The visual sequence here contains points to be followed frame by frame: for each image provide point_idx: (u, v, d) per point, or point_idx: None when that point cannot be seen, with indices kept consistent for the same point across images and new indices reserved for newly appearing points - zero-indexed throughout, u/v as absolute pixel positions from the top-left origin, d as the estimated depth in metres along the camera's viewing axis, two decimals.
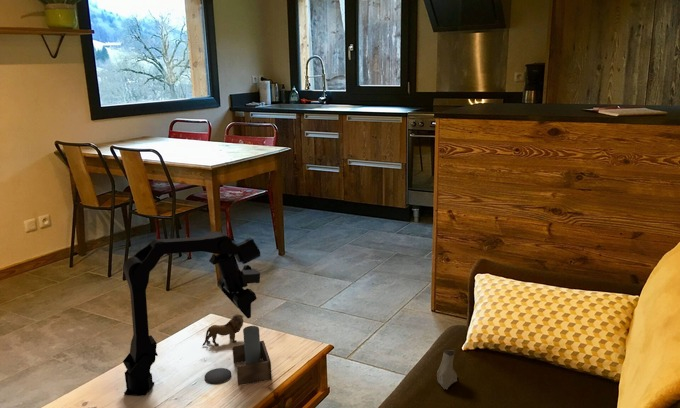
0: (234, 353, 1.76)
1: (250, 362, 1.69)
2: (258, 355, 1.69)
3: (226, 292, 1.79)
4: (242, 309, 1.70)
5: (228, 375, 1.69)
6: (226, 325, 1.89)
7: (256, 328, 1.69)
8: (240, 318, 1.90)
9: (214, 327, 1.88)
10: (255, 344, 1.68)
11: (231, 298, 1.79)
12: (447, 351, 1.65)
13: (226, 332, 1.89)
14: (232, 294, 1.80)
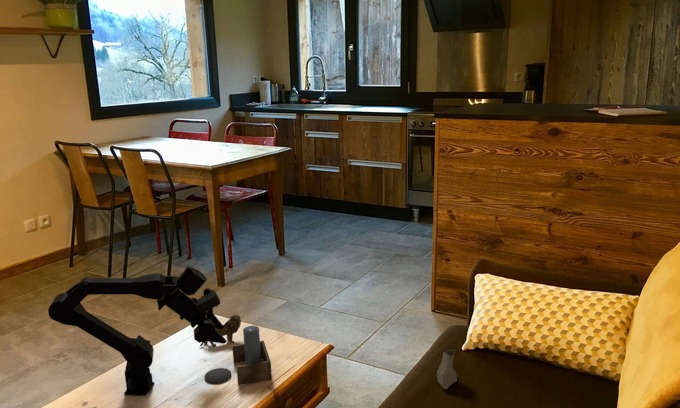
0: (234, 353, 1.76)
1: (250, 362, 1.69)
2: (258, 355, 1.69)
3: None
4: (210, 339, 1.59)
5: (228, 375, 1.69)
6: None
7: (256, 328, 1.69)
8: (238, 319, 1.90)
9: None
10: (255, 344, 1.68)
11: None
12: (447, 351, 1.65)
13: (223, 333, 1.88)
14: None
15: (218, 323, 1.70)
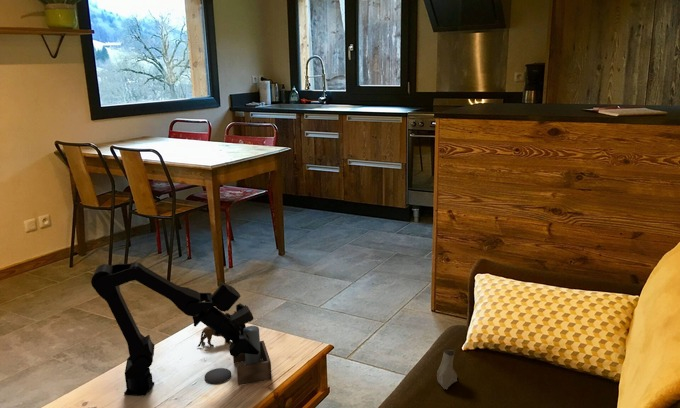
0: None
1: (250, 362, 1.69)
2: (258, 355, 1.69)
3: None
4: (244, 351, 1.65)
5: (228, 375, 1.69)
6: None
7: (256, 328, 1.69)
8: None
9: (209, 328, 1.87)
10: (255, 344, 1.68)
11: None
12: (447, 351, 1.65)
13: None
14: None
15: None
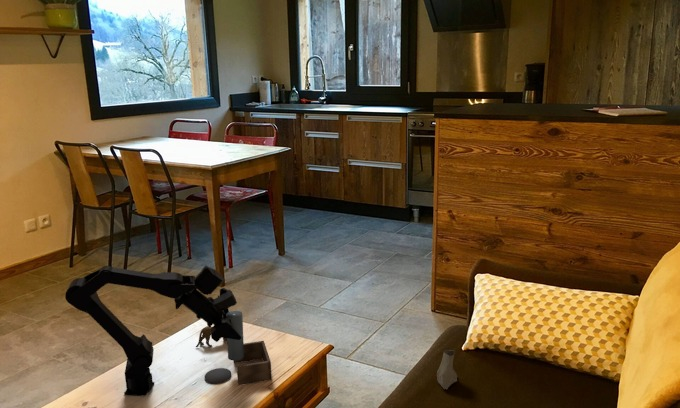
0: None
1: (232, 347, 1.66)
2: (241, 341, 1.67)
3: None
4: (226, 336, 1.63)
5: (228, 375, 1.69)
6: None
7: (240, 313, 1.67)
8: None
9: (207, 328, 1.87)
10: (237, 329, 1.65)
11: None
12: (447, 351, 1.65)
13: None
14: None
15: None
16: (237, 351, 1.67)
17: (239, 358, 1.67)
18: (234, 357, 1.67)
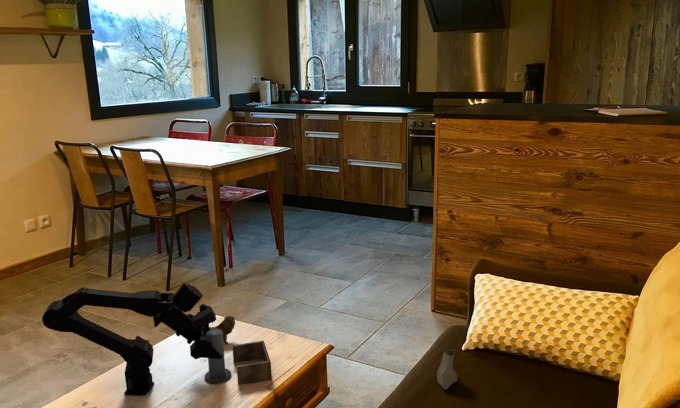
0: (234, 353, 1.76)
1: (213, 366, 1.66)
2: (221, 359, 1.66)
3: None
4: (206, 356, 1.60)
5: (228, 375, 1.69)
6: (218, 327, 1.88)
7: (220, 332, 1.66)
8: (232, 319, 1.89)
9: None
10: (217, 348, 1.65)
11: None
12: (447, 351, 1.65)
13: None
14: None
15: None
16: (217, 369, 1.66)
17: (220, 377, 1.67)
18: (215, 376, 1.66)
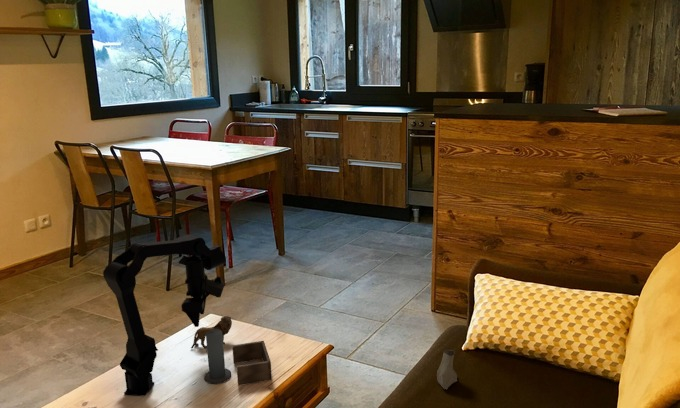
0: (234, 353, 1.76)
1: (213, 366, 1.66)
2: (221, 359, 1.66)
3: None
4: (189, 315, 1.71)
5: (228, 375, 1.69)
6: (215, 327, 1.88)
7: (219, 331, 1.66)
8: (229, 320, 1.89)
9: (202, 329, 1.86)
10: (217, 348, 1.65)
11: None
12: (447, 351, 1.65)
13: None
14: None
15: None
16: (217, 369, 1.66)
17: (220, 377, 1.67)
18: (215, 375, 1.66)
